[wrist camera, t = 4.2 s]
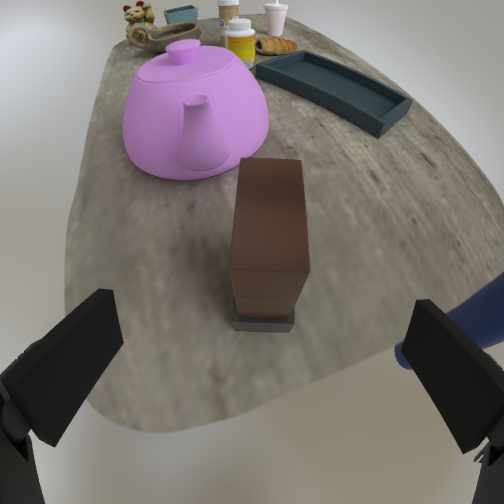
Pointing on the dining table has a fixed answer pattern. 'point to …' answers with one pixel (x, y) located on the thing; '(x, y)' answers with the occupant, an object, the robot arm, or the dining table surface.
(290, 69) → the tray
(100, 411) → the dining table surface
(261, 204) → the eraser
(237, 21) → the supplement bottle
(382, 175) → the dining table surface
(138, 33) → the decorative figurine
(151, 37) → the bowl
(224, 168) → the teapot
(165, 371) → the dining table surface
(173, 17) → the flower pot
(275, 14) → the smoothie
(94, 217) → the dining table surface
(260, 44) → the pastry
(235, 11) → the spice jar
